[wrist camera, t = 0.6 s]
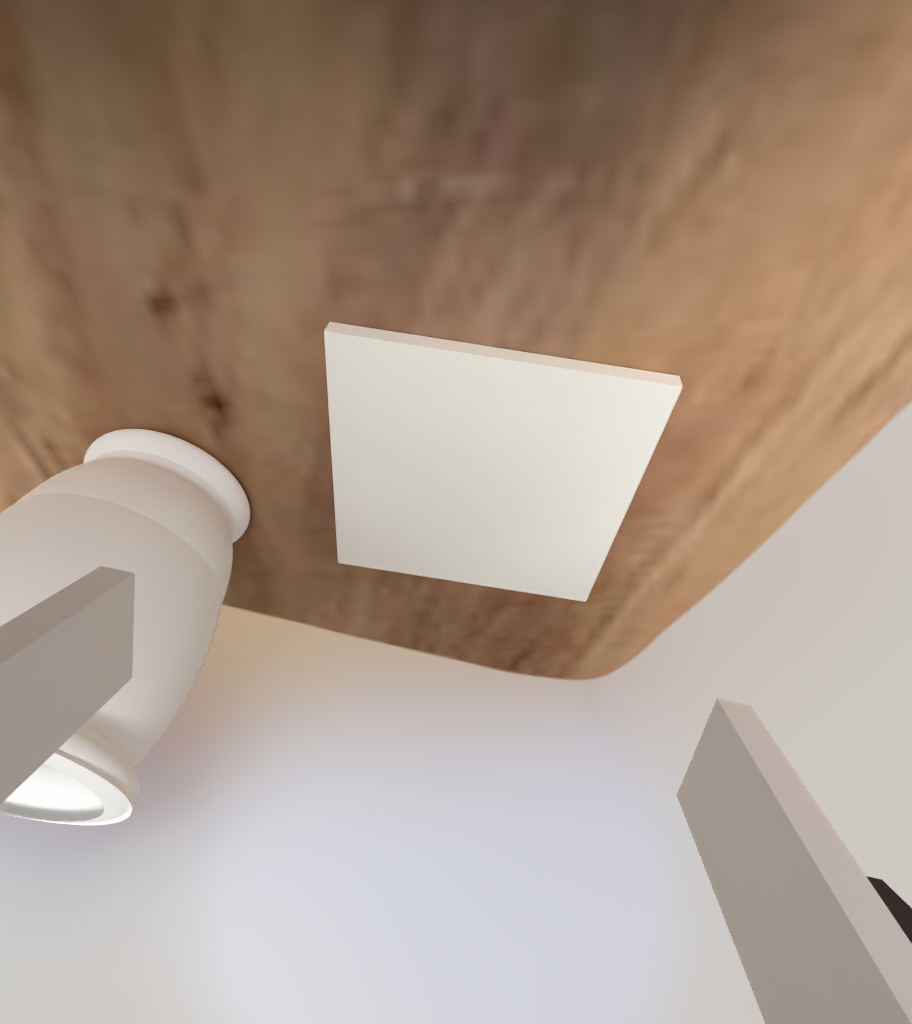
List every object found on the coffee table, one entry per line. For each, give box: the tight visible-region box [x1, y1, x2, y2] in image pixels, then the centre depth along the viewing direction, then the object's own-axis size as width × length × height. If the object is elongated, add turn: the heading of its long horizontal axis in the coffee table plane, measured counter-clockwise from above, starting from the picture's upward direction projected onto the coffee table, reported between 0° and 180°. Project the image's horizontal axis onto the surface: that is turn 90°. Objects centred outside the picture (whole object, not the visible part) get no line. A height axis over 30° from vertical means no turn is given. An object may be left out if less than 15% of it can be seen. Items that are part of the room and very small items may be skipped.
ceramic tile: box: [324, 322, 683, 602], centre depth 27 cm, size 14×14×1 cm
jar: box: [0, 429, 250, 825], centre depth 25 cm, size 11×10×15 cm
